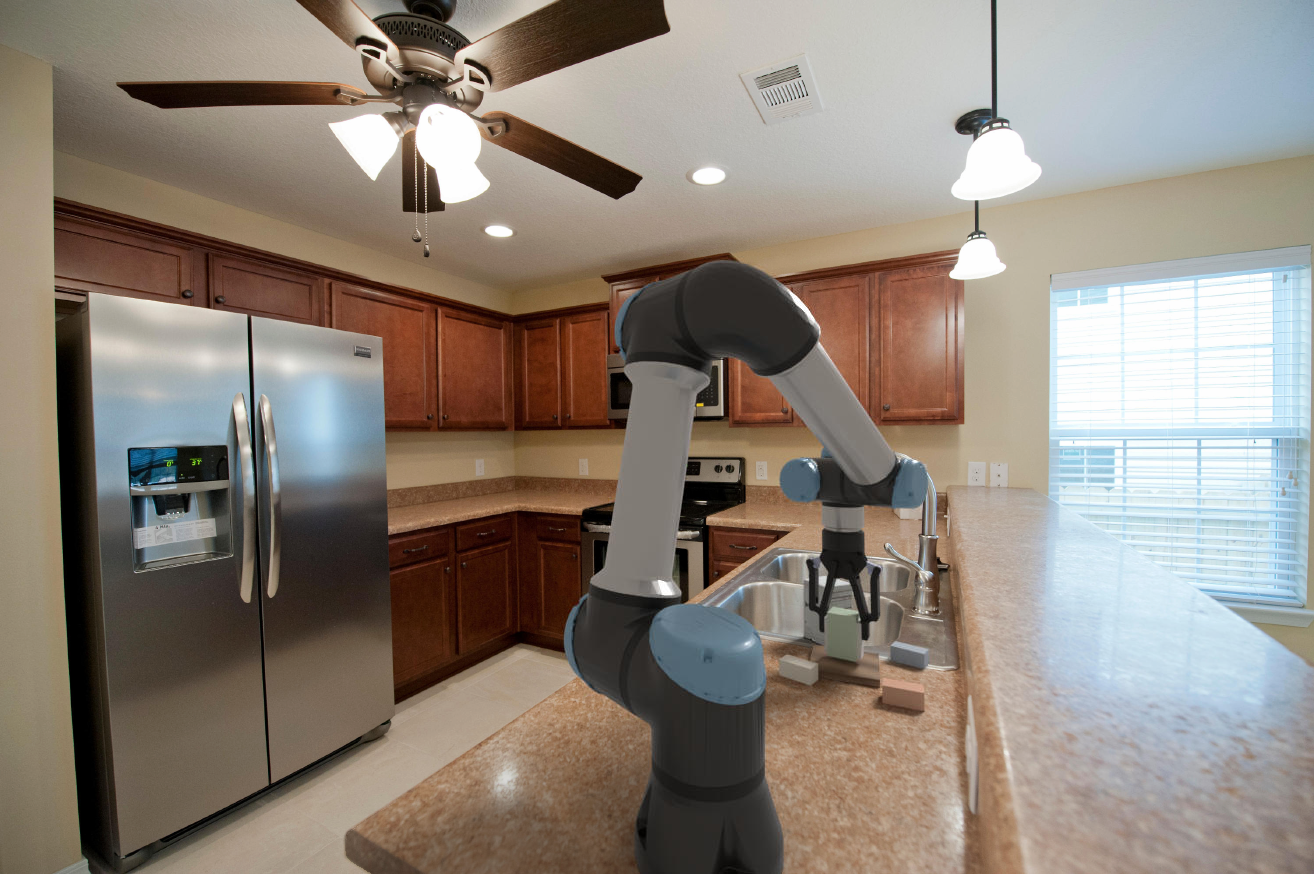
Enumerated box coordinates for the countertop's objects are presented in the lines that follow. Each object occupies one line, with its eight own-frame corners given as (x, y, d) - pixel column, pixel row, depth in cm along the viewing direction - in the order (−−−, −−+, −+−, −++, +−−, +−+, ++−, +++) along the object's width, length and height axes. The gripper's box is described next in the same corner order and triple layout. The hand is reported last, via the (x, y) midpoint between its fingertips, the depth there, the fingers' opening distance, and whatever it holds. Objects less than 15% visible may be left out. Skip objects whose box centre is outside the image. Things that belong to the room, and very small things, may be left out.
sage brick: (856, 661, 92) (855, 617, 92) (827, 655, 95) (827, 612, 95) (860, 654, 96) (860, 611, 96) (833, 648, 98) (832, 606, 98)
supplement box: (802, 637, 110) (801, 578, 111) (828, 631, 113) (828, 574, 114) (827, 649, 104) (826, 586, 104) (854, 643, 107) (853, 582, 107)
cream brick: (818, 680, 90) (818, 663, 90) (810, 686, 88) (810, 669, 88) (787, 670, 94) (787, 654, 94) (779, 676, 92) (779, 659, 92)
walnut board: (880, 686, 87) (880, 679, 87) (807, 675, 92) (807, 668, 92) (878, 659, 98) (878, 653, 98) (814, 650, 103) (814, 644, 103)
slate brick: (929, 665, 97) (928, 649, 97) (924, 670, 94) (924, 654, 94) (895, 656, 101) (895, 641, 101) (890, 661, 98) (890, 645, 98)
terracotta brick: (924, 703, 82) (923, 684, 82) (924, 712, 79) (924, 692, 80) (883, 695, 85) (883, 677, 85) (882, 703, 82) (882, 685, 82)
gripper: (898, 529, 94) (900, 656, 94) (801, 522, 104) (802, 637, 103) (892, 535, 88) (894, 672, 87) (789, 527, 97) (790, 649, 97)
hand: (844, 653), depth 95 cm, fingers closed on sage brick, 5 cm apart
